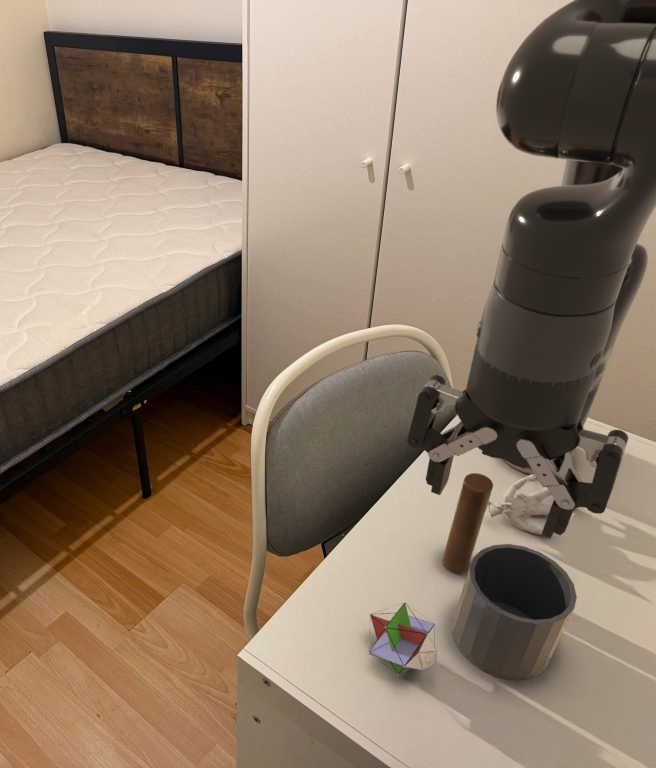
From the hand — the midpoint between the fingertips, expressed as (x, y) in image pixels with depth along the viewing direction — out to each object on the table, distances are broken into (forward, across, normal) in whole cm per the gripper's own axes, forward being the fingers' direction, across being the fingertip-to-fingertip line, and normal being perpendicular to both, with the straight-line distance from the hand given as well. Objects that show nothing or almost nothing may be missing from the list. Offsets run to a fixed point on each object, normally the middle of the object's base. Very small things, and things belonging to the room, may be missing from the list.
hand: (491, 507), depth 59 cm
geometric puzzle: (+29, +5, -2) cm, 29 cm away
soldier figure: (+30, -1, -31) cm, 43 cm away
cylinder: (+29, +4, -18) cm, 34 cm away
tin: (+29, -3, -10) cm, 31 cm away
